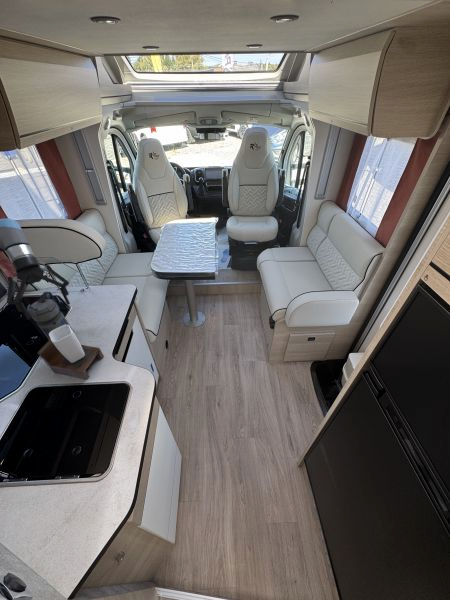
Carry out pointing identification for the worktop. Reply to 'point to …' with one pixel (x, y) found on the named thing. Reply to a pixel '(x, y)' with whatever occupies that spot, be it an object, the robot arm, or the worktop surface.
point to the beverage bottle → (47, 314)
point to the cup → (67, 343)
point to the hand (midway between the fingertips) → (49, 311)
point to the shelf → (65, 366)
